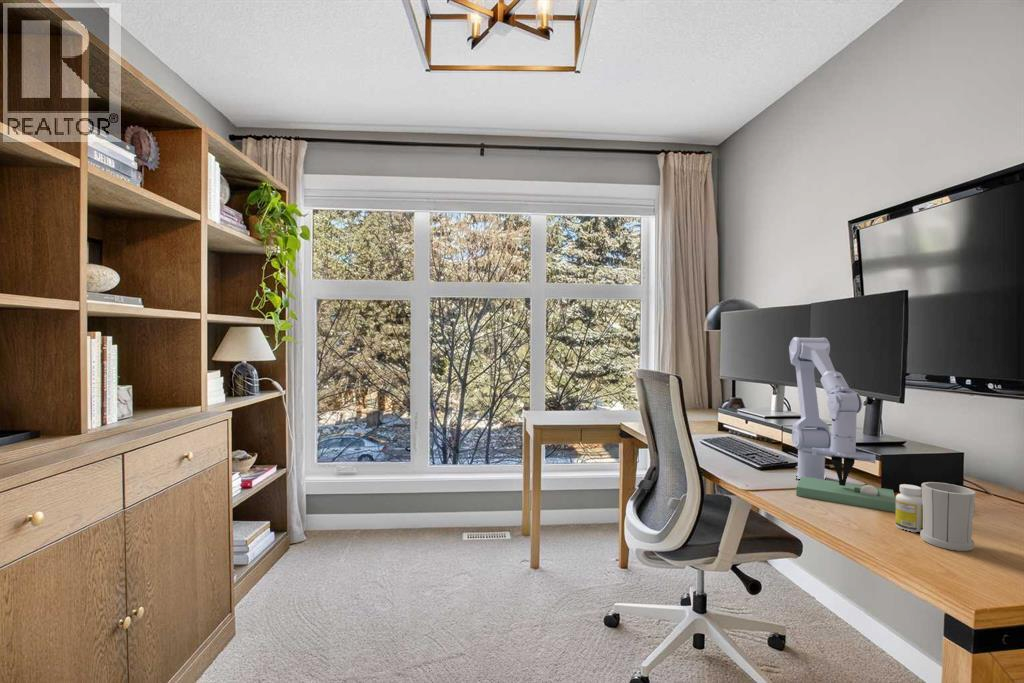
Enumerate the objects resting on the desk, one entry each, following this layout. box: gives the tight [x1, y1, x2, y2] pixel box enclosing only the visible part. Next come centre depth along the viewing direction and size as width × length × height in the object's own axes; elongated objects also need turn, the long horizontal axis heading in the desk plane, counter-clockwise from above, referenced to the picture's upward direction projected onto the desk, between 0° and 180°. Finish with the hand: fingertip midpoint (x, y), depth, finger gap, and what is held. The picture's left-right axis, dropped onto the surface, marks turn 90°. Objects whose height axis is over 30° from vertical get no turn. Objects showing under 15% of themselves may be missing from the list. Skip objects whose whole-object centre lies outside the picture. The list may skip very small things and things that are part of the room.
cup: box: [919, 481, 977, 552], centre depth 109 cm, size 10×9×12 cm
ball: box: [860, 484, 878, 496], centre depth 137 cm, size 4×4×4 cm
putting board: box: [795, 476, 896, 513], centre depth 139 cm, size 13×22×2 cm, turn 56°
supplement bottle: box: [895, 483, 923, 533], centre depth 117 cm, size 5×5×10 cm
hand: (842, 484), depth 140 cm, fingers closed
